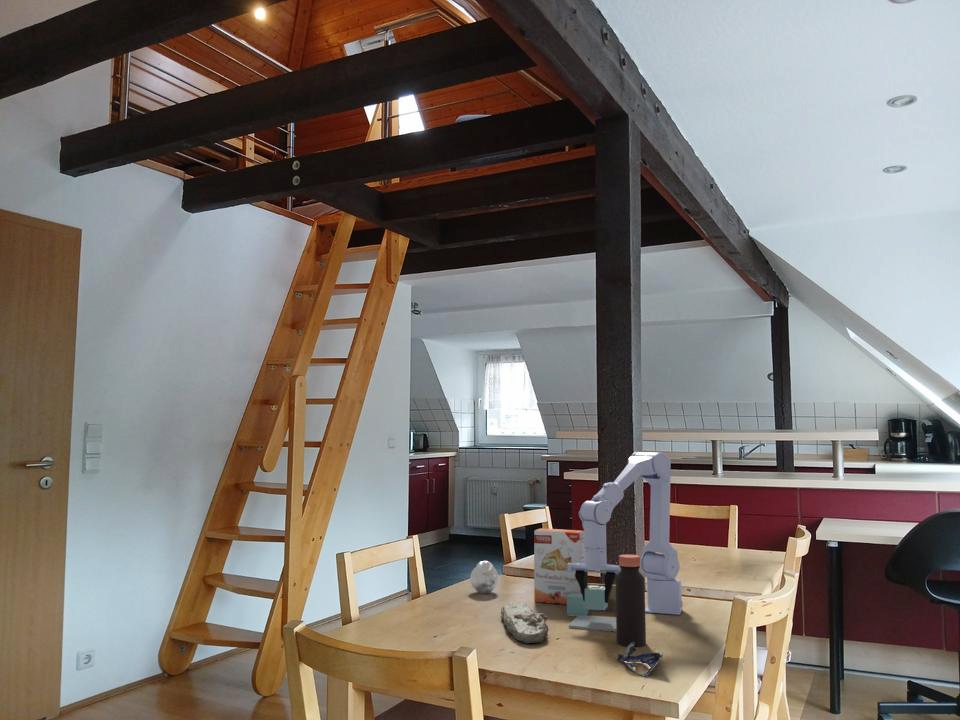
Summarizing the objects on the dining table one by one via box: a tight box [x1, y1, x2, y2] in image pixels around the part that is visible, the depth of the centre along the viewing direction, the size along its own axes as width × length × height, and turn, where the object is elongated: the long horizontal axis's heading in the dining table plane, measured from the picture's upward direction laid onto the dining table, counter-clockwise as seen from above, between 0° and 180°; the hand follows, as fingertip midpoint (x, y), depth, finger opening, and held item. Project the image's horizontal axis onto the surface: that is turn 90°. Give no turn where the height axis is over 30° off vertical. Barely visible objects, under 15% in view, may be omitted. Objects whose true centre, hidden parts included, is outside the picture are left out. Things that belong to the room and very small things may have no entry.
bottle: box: [615, 553, 647, 648], centre depth 175 cm, size 7×7×20 cm
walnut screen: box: [580, 582, 616, 613], centre depth 208 cm, size 13×4×7 cm, turn 70°
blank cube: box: [566, 593, 590, 617], centre depth 204 cm, size 5×5×5 cm
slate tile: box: [568, 615, 616, 633], centre depth 192 cm, size 12×12×1 cm
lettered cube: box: [585, 585, 608, 611], centre depth 192 cm, size 5×5×5 cm
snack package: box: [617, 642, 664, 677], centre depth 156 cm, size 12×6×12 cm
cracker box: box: [533, 528, 585, 606], centre depth 218 cm, size 14×6×21 cm, turn 68°
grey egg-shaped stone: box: [469, 560, 500, 594], centre depth 231 cm, size 9×10×10 cm
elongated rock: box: [500, 602, 550, 644], centre depth 189 cm, size 35×5×10 cm
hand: (596, 601), depth 192 cm, fingers closed on lettered cube, 5 cm apart
